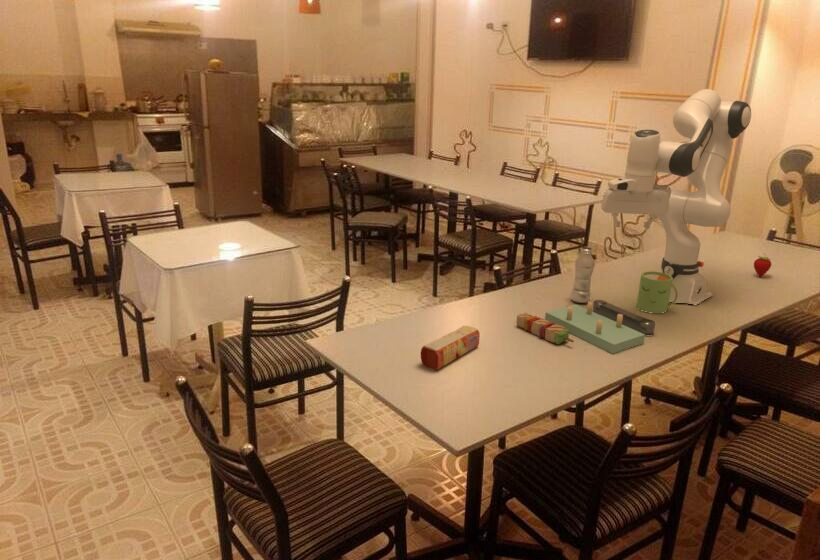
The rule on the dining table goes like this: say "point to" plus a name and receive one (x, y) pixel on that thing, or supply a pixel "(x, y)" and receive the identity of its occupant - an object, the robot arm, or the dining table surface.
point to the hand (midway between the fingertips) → (631, 227)
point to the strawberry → (762, 265)
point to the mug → (655, 292)
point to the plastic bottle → (583, 276)
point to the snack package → (449, 347)
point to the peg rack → (596, 328)
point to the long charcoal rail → (624, 317)
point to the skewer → (543, 328)
